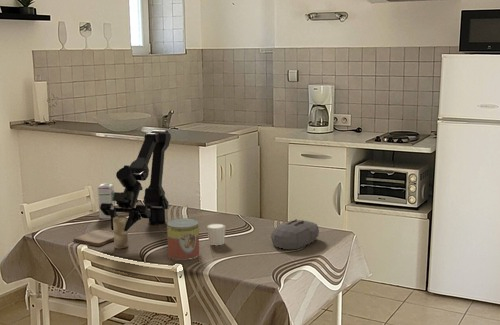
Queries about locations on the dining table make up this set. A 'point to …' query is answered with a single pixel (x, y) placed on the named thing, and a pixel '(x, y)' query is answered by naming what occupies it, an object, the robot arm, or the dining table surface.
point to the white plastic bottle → (105, 197)
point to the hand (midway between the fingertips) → (118, 230)
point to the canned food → (183, 238)
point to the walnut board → (96, 238)
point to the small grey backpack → (294, 234)
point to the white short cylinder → (216, 234)
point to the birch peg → (120, 232)
